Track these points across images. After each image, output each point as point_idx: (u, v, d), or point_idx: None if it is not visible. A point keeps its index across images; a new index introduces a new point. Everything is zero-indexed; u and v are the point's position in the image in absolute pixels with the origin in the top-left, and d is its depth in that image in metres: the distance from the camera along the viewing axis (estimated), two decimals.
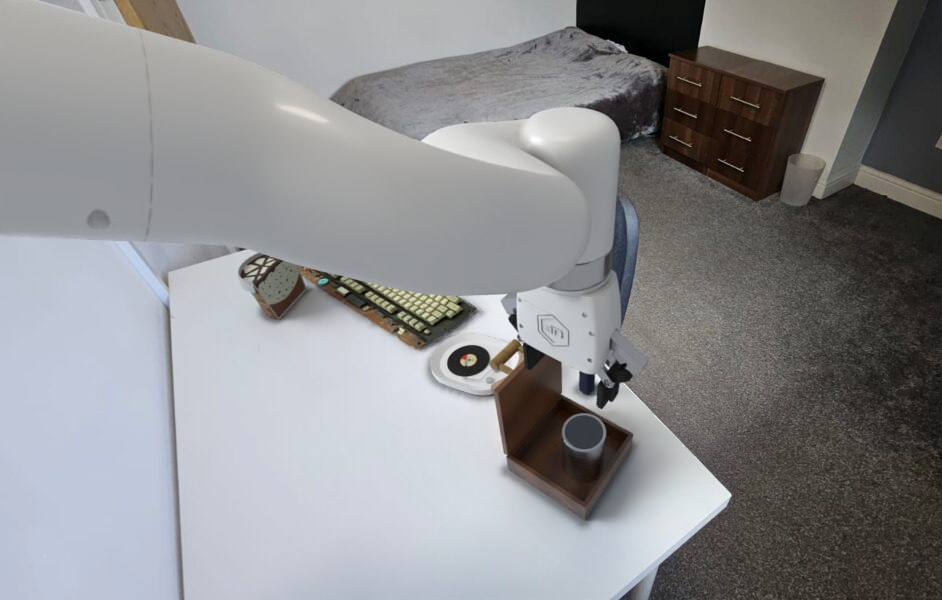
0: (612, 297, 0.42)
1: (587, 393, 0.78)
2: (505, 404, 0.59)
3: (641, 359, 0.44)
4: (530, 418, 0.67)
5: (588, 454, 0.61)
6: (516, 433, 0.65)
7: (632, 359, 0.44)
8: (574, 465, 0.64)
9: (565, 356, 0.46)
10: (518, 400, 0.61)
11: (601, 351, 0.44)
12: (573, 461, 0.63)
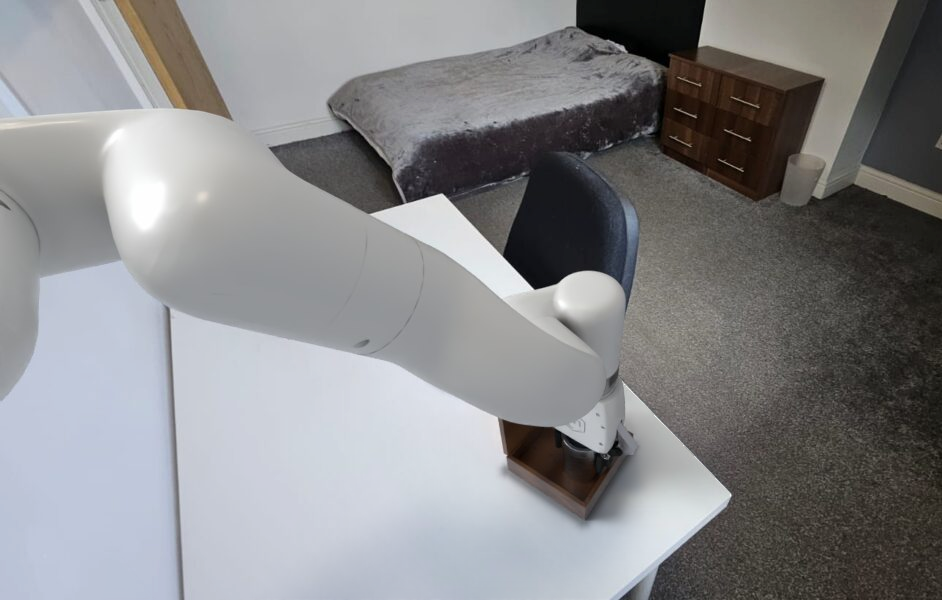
0: (619, 399, 0.54)
1: None
2: None
3: (634, 446, 0.58)
4: None
5: (588, 454, 0.61)
6: (516, 433, 0.65)
7: (628, 446, 0.58)
8: (574, 465, 0.64)
9: (581, 439, 0.59)
10: None
11: (610, 438, 0.56)
12: (573, 461, 0.63)
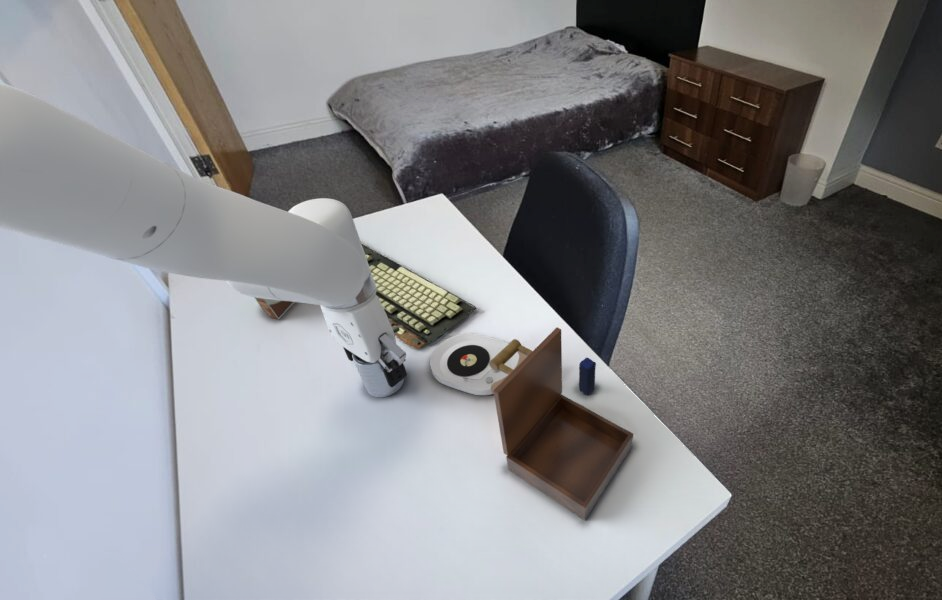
0: (371, 312, 0.65)
1: (587, 393, 0.78)
2: (505, 404, 0.59)
3: (399, 352, 0.68)
4: (530, 418, 0.67)
5: (371, 368, 0.72)
6: (516, 433, 0.65)
7: (393, 352, 0.67)
8: (365, 380, 0.75)
9: (355, 351, 0.69)
10: (518, 400, 0.61)
11: (371, 347, 0.67)
12: (362, 375, 0.74)
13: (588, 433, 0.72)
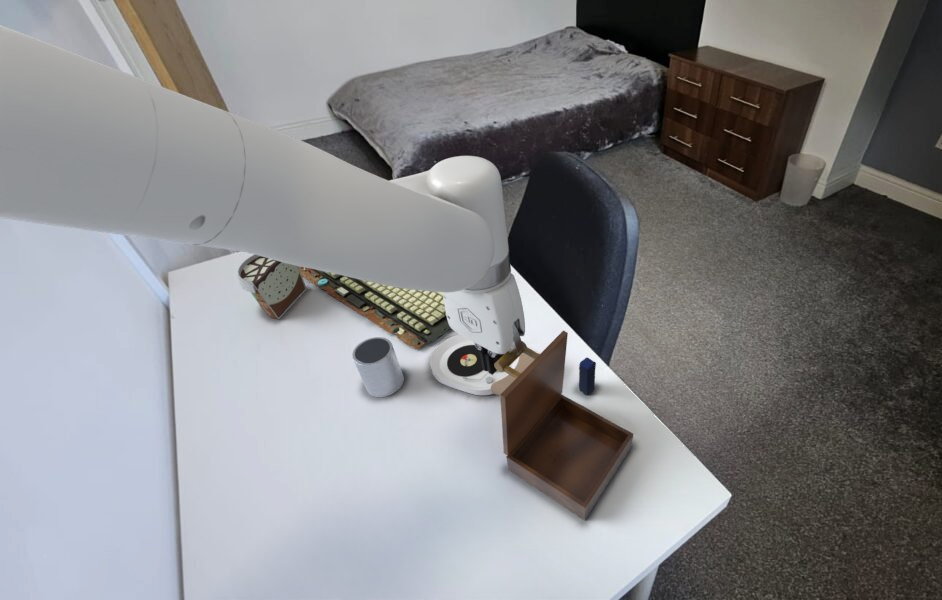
0: (510, 294, 0.55)
1: (587, 393, 0.78)
2: (510, 407, 0.58)
3: (520, 348, 0.61)
4: (531, 419, 0.67)
5: (371, 368, 0.72)
6: (517, 434, 0.65)
7: (515, 347, 0.60)
8: (365, 380, 0.75)
9: (481, 340, 0.59)
10: (522, 403, 0.61)
11: (505, 336, 0.57)
12: (362, 375, 0.74)
13: (588, 433, 0.72)
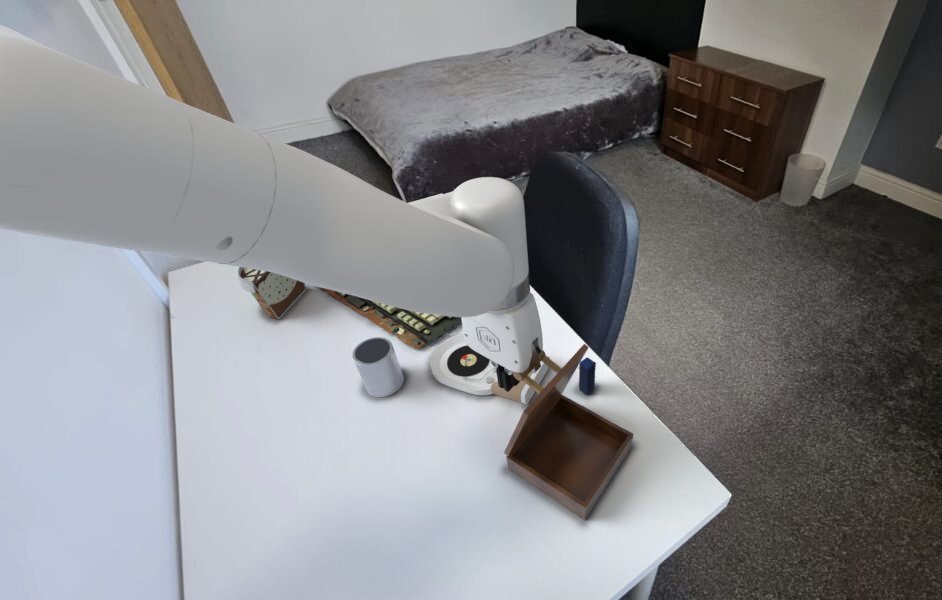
0: (529, 314, 0.55)
1: (587, 393, 0.78)
2: (527, 420, 0.58)
3: (537, 366, 0.61)
4: (535, 422, 0.67)
5: (371, 368, 0.72)
6: (521, 437, 0.64)
7: (532, 365, 0.60)
8: (365, 380, 0.75)
9: (499, 359, 0.59)
10: (536, 413, 0.61)
11: (524, 355, 0.57)
12: (362, 375, 0.74)
13: (588, 433, 0.72)
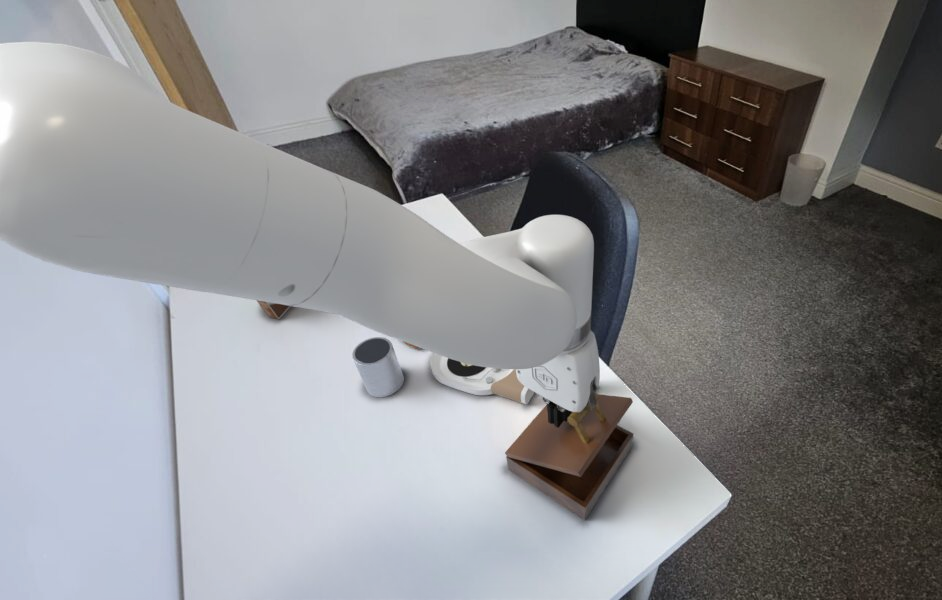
0: (591, 353, 0.53)
1: None
2: None
3: (593, 404, 0.58)
4: None
5: (371, 368, 0.72)
6: None
7: (589, 404, 0.58)
8: (365, 380, 0.75)
9: (554, 397, 0.57)
10: None
11: (583, 395, 0.54)
12: (362, 375, 0.74)
13: None
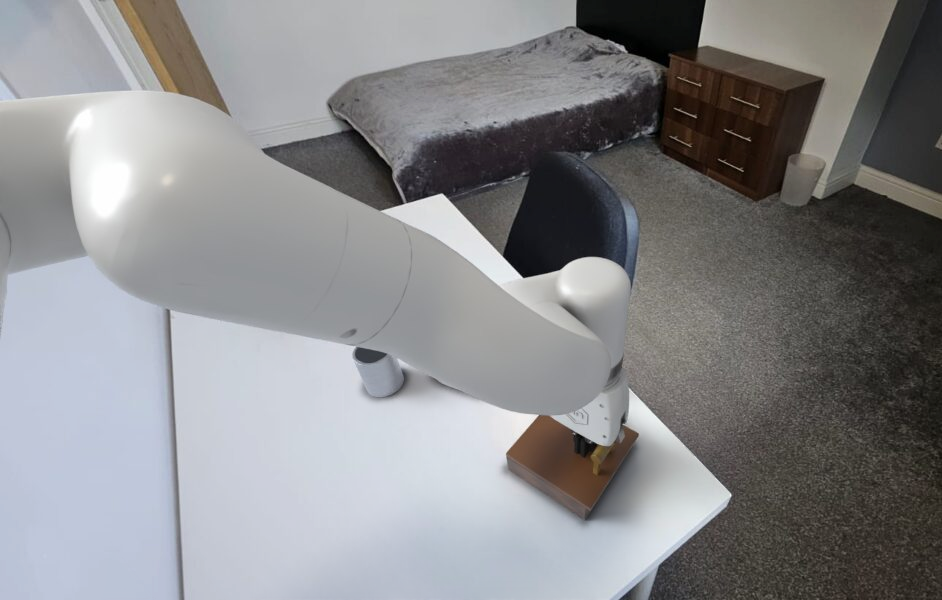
0: (623, 390, 0.53)
1: None
2: None
3: (622, 437, 0.59)
4: None
5: (371, 368, 0.72)
6: None
7: (618, 437, 0.58)
8: (365, 380, 0.75)
9: (584, 431, 0.57)
10: None
11: (614, 431, 0.55)
12: (362, 375, 0.74)
13: None
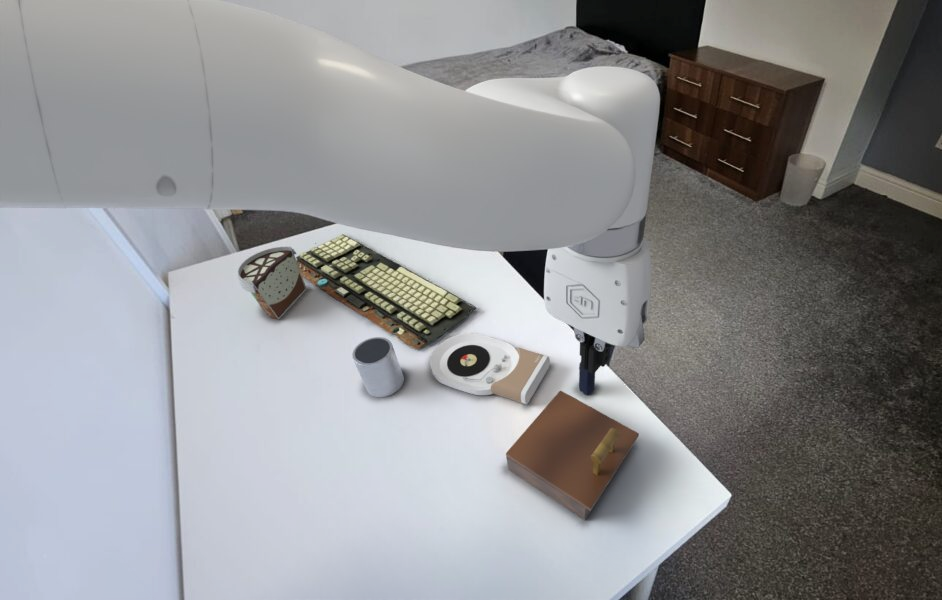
0: (645, 265, 0.41)
1: (587, 393, 0.78)
2: None
3: (641, 339, 0.47)
4: None
5: (371, 368, 0.72)
6: None
7: (636, 337, 0.46)
8: (365, 380, 0.75)
9: (594, 328, 0.45)
10: None
11: (632, 322, 0.43)
12: (362, 375, 0.74)
13: None
